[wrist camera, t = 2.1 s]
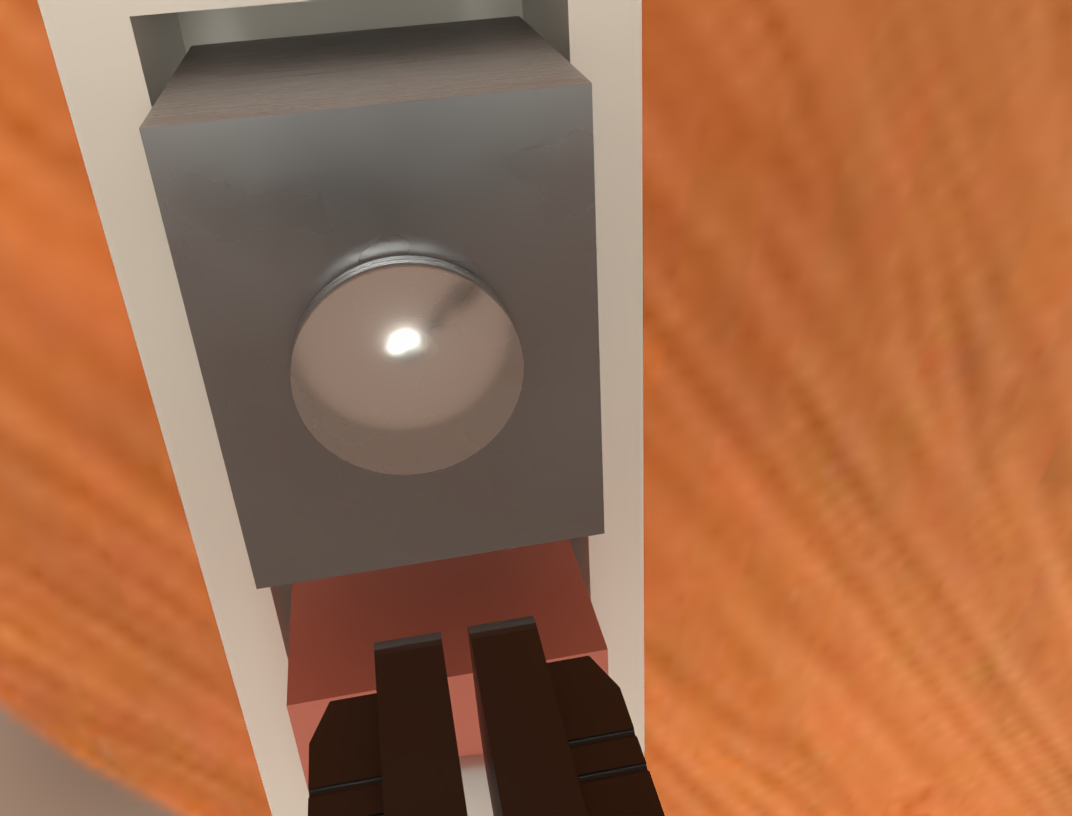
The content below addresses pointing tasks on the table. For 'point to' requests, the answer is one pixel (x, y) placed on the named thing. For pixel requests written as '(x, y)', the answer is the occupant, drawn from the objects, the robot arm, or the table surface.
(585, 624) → the red button block
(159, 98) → the grey button block
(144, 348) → the frame
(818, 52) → the table surface
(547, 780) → the robot arm
